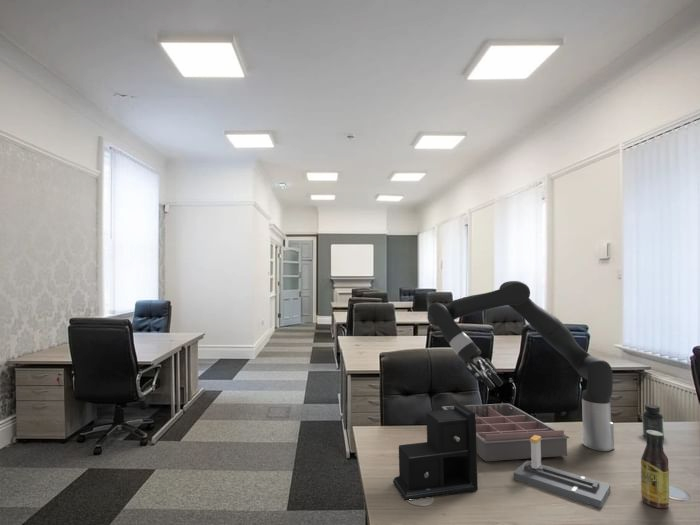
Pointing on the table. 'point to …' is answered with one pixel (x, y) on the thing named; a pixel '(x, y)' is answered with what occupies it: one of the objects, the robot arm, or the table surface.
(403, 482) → the black drawer cabinet
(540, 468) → the fader tab
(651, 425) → the supplement bottle
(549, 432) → the organizer tray
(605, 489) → the grey slider track base
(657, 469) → the sauce bottle
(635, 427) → the table surface
